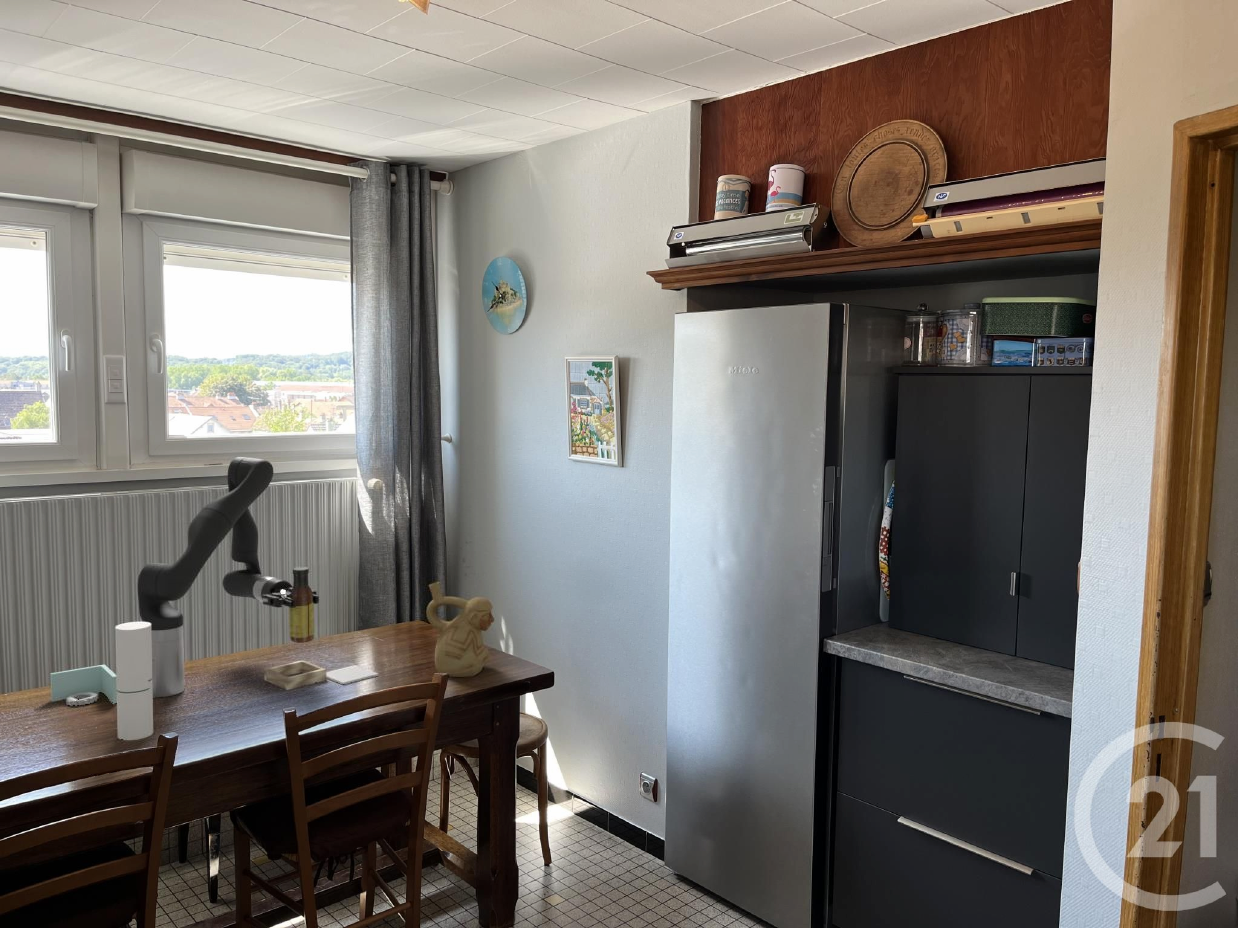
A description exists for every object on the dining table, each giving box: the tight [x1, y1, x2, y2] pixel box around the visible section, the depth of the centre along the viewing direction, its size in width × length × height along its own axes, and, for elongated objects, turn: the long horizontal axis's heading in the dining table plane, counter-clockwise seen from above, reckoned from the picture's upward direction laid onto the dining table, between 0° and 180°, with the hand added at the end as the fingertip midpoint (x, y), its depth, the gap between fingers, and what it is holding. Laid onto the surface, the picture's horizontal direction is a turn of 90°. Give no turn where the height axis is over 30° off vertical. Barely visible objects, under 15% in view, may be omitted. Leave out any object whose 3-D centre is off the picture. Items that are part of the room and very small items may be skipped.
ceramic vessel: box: [425, 581, 495, 678], centre depth 260 cm, size 17×20×25 cm
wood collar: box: [263, 659, 327, 691], centre depth 249 cm, size 12×12×3 cm
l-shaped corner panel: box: [50, 664, 117, 707], centre depth 229 cm, size 12×12×8 cm
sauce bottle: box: [288, 566, 315, 644], centre depth 248 cm, size 6×6×20 cm
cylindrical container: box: [114, 621, 154, 741], centre depth 208 cm, size 7×7×25 cm
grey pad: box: [326, 664, 379, 685], centre depth 254 cm, size 11×11×1 cm
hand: (306, 601), depth 247 cm, fingers closed on sauce bottle, 6 cm apart
